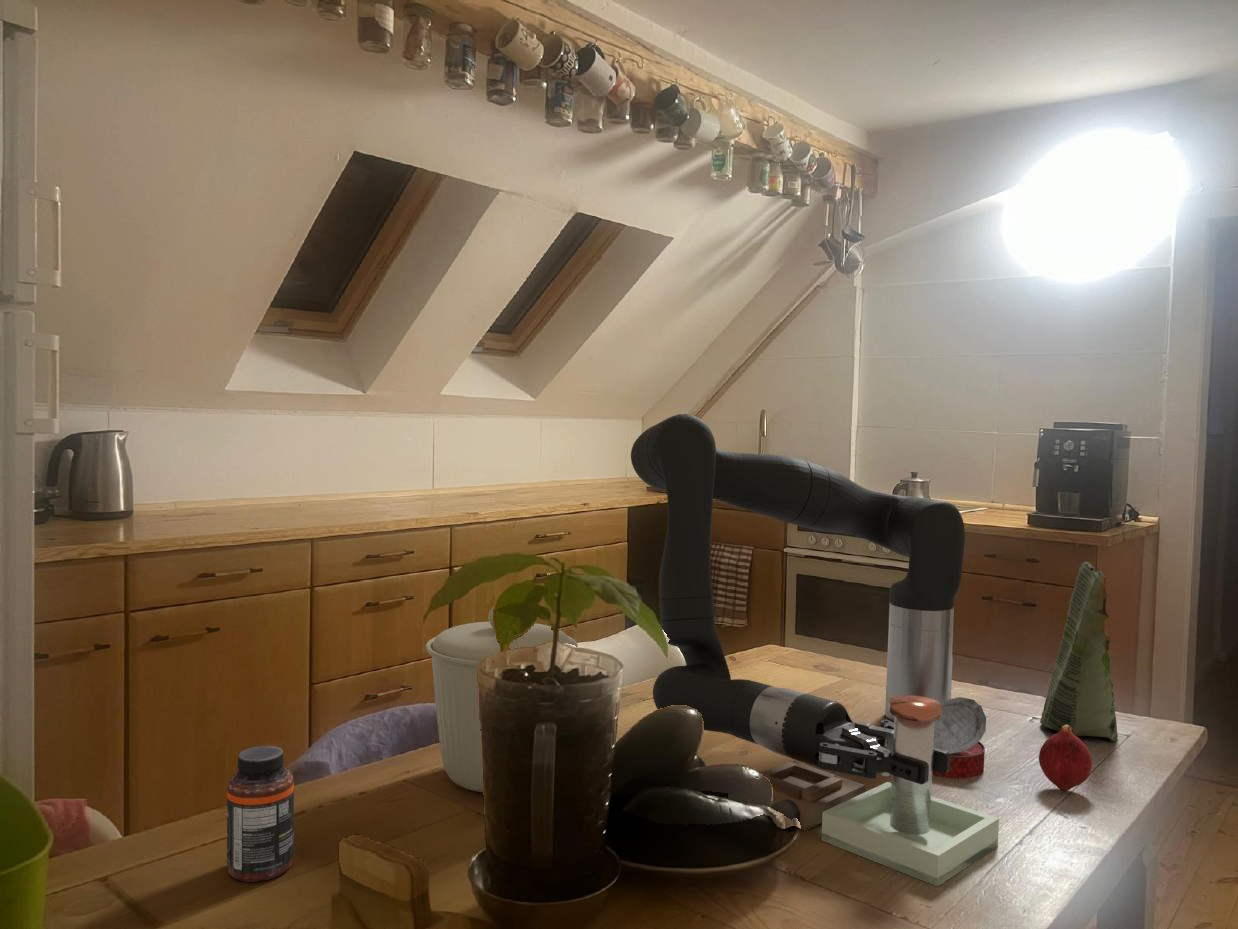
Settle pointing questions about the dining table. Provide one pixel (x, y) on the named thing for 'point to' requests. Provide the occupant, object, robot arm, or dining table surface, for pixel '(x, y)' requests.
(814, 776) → the brown socket base
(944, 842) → the tray
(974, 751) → the canned food
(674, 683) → the robot arm
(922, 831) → the pin
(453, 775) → the canister
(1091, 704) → the pouch
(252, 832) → the supplement bottle
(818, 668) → the dining table surface
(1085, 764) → the onion
